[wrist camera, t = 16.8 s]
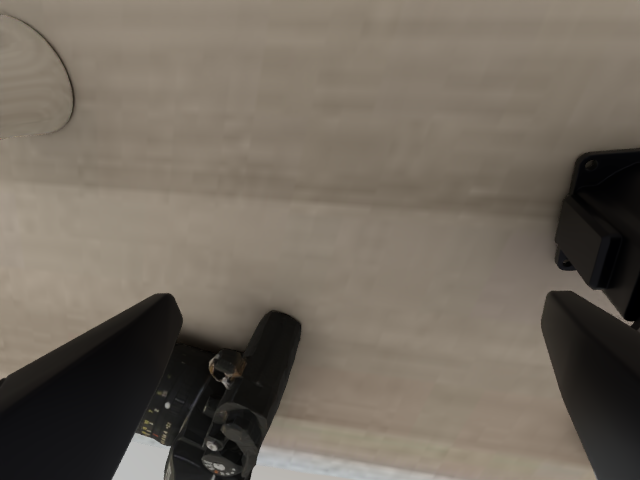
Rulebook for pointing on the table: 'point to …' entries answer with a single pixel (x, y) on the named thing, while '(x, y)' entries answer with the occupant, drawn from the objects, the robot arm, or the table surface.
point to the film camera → (221, 403)
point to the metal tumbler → (30, 83)
